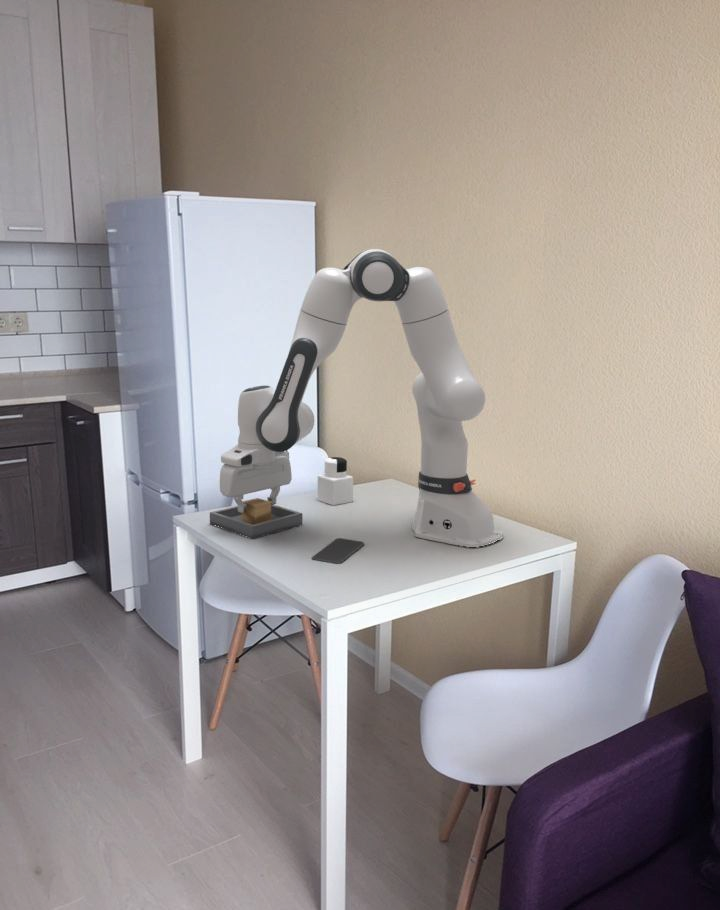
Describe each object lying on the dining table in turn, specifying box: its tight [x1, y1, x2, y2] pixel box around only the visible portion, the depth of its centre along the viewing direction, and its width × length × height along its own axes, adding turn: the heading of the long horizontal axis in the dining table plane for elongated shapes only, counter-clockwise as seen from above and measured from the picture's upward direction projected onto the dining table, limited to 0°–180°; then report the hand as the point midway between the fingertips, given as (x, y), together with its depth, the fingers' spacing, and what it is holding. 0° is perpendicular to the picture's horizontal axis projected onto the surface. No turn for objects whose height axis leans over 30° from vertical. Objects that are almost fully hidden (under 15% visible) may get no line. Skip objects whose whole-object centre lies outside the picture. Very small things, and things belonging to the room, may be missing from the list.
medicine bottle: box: [317, 456, 354, 506], centre depth 220 cm, size 7×7×12 cm
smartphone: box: [311, 537, 365, 565], centre depth 180 cm, size 7×1×15 cm
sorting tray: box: [209, 504, 303, 540], centre depth 198 cm, size 16×16×3 cm
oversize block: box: [242, 497, 271, 525], centre depth 198 cm, size 5×5×5 cm
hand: (257, 507), depth 198 cm, fingers open, 8 cm apart
